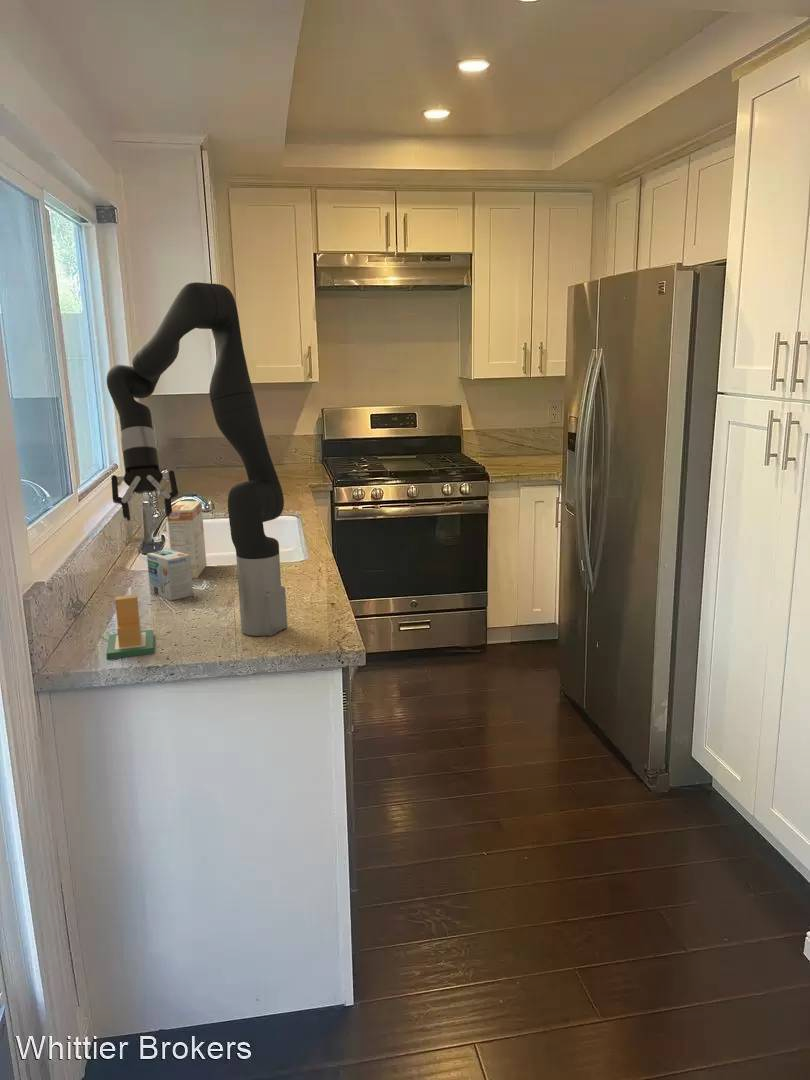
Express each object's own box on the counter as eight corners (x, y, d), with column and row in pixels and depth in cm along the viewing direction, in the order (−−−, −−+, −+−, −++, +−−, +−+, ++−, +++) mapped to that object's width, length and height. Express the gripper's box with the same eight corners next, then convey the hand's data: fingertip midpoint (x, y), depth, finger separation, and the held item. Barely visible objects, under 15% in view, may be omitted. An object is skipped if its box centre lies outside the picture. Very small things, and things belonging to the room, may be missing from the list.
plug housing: (121, 631, 168) (116, 589, 165) (141, 629, 169) (137, 587, 167) (119, 647, 158) (114, 603, 156) (140, 644, 159) (136, 600, 157)
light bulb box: (149, 593, 201) (145, 553, 199) (172, 587, 206) (169, 548, 203) (171, 601, 194) (167, 559, 192) (194, 595, 199) (191, 554, 196)
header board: (109, 639, 166) (108, 623, 166) (153, 634, 169) (151, 618, 168) (107, 659, 155) (105, 641, 155) (153, 653, 158) (152, 635, 157)
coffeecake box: (183, 566, 228) (177, 501, 224) (207, 565, 229) (202, 500, 224) (171, 579, 214) (165, 510, 209) (197, 578, 214) (192, 509, 210)
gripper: (106, 447, 172) (114, 518, 170) (172, 442, 177) (181, 511, 175) (107, 456, 179) (116, 524, 177) (171, 451, 184) (180, 518, 182)
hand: (148, 518), depth 176 cm, fingers open, 8 cm apart
